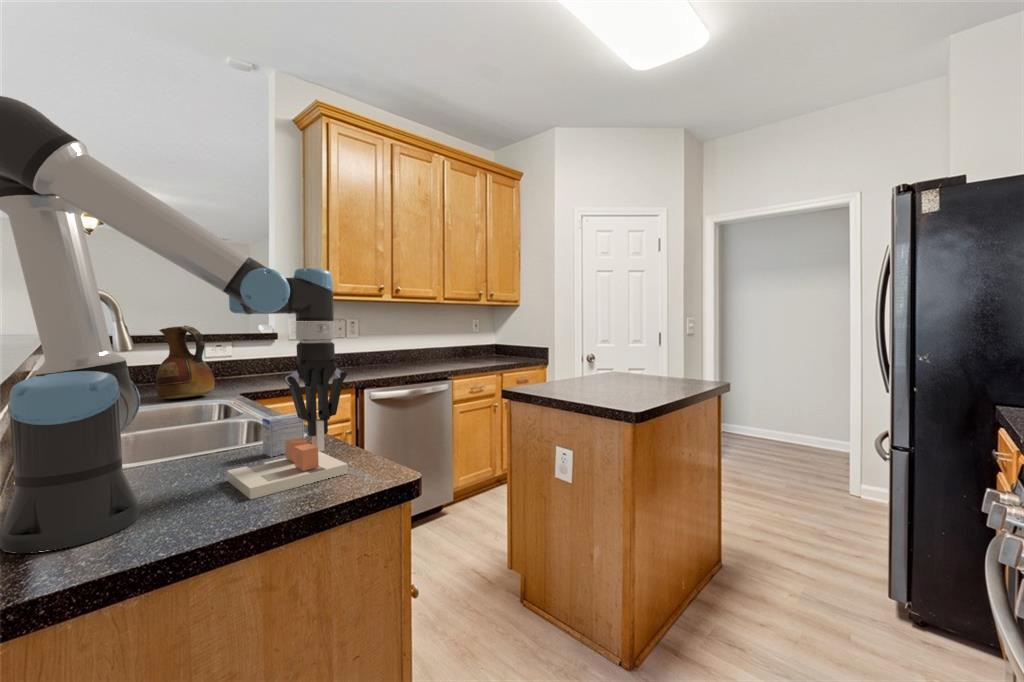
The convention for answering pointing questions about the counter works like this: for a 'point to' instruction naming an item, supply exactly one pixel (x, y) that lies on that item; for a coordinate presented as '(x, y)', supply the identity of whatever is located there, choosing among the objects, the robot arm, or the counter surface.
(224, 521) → the counter surface
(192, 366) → the ceramic pitcher
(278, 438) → the medicine box
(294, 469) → the switch bank
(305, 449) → the near tab
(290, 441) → the far tab
